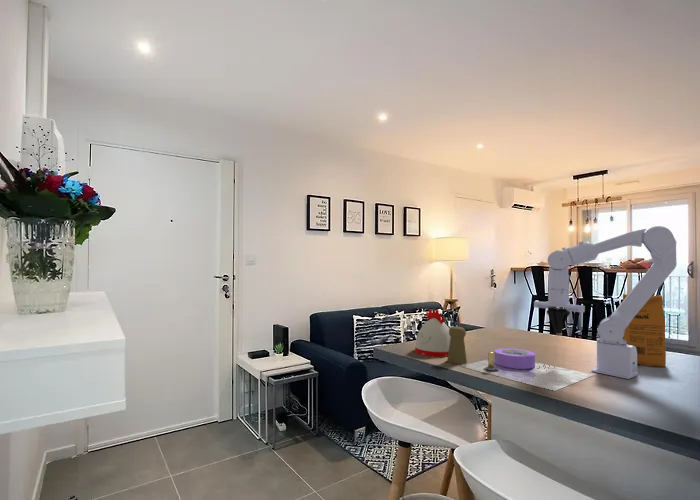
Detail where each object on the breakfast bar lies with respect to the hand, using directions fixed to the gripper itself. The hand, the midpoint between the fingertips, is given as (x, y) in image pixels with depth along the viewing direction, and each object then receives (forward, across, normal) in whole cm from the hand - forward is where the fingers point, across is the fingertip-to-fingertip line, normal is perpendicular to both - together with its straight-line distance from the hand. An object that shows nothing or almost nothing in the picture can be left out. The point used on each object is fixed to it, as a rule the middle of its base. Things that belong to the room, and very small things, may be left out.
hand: (558, 333), depth 122 cm
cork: (+10, -21, -23) cm, 33 cm away
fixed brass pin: (+10, -9, -23) cm, 26 cm away
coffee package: (+10, +14, +26) cm, 31 cm away
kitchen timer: (+11, -34, -18) cm, 40 cm away
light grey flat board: (+10, -3, -15) cm, 18 cm away
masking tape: (+10, -8, -11) cm, 17 cm away
